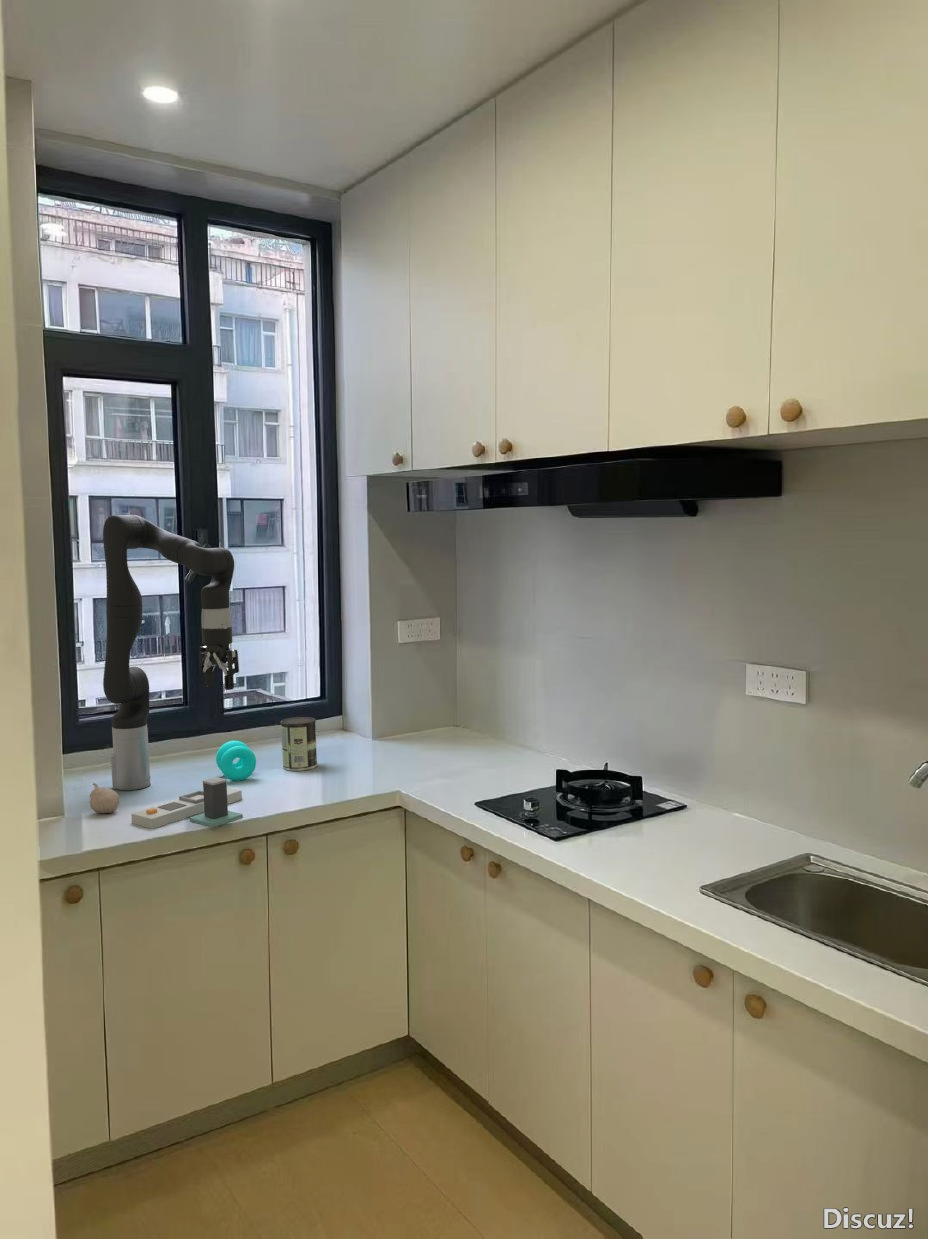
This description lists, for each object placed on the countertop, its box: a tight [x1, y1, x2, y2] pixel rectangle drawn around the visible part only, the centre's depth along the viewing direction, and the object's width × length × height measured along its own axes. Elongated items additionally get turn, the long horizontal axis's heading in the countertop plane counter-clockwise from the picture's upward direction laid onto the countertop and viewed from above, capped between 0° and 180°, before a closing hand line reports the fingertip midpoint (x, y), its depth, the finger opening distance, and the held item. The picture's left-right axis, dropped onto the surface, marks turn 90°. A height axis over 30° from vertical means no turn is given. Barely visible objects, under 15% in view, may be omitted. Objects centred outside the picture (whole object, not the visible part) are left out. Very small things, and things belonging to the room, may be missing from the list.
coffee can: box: [280, 716, 318, 772], centre depth 280 cm, size 10×10×14 cm
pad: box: [188, 810, 244, 828], centre depth 232 cm, size 9×9×1 cm
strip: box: [130, 786, 243, 829], centre depth 239 cm, size 28×8×3 cm, turn 145°
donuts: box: [215, 740, 257, 782], centre depth 269 cm, size 10×10×10 cm
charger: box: [202, 776, 229, 819], centre depth 232 cm, size 4×4×9 cm
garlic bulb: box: [89, 782, 121, 814], centre depth 238 cm, size 7×6×8 cm
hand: (219, 687), depth 244 cm, fingers open, 8 cm apart
